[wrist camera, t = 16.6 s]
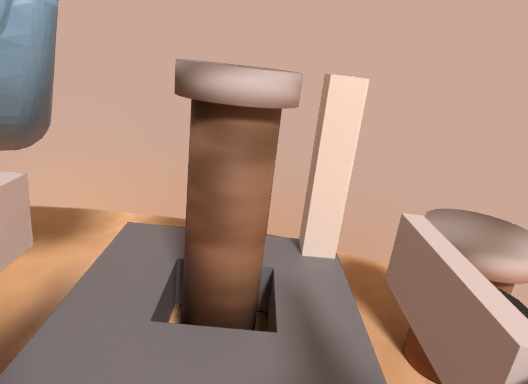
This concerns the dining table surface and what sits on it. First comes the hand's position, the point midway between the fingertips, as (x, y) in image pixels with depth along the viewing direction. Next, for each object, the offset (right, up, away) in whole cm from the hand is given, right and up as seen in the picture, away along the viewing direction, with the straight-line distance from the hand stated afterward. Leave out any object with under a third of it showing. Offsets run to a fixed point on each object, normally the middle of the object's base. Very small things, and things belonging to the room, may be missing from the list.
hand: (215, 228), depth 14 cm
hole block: (-1, -8, +10) cm, 13 cm away
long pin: (-1, -8, +10) cm, 12 cm away
